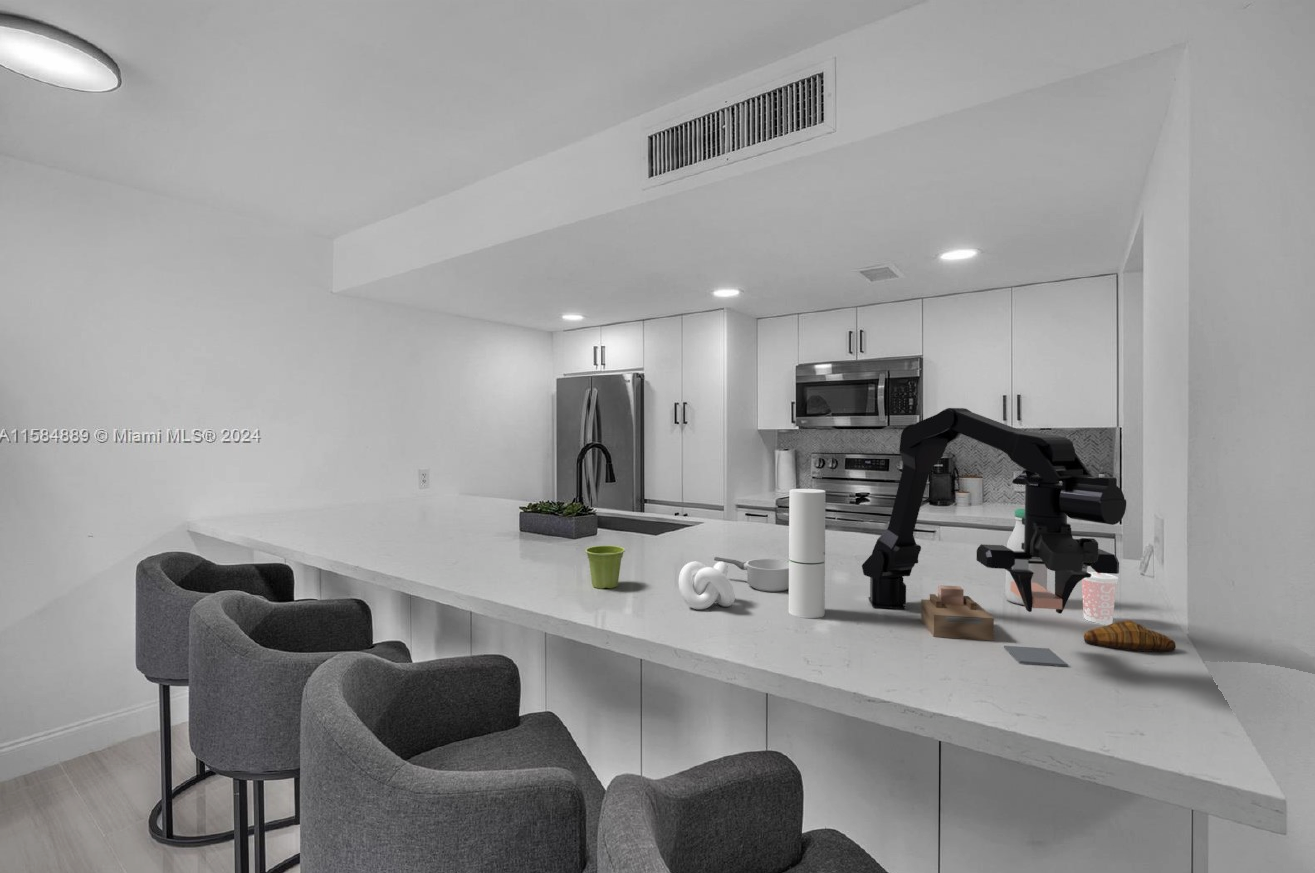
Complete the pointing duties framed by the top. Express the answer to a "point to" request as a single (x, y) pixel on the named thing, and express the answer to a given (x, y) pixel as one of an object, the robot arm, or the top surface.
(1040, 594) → the salmon pink rectangular block
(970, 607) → the dispenser
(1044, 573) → the milk bottle
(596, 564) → the plant pot
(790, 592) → the cylindrical container
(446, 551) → the top surface
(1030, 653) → the pad
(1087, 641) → the croissant
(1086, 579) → the beverage cup
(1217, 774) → the top surface
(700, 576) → the white decorative knot
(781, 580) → the saucepan
